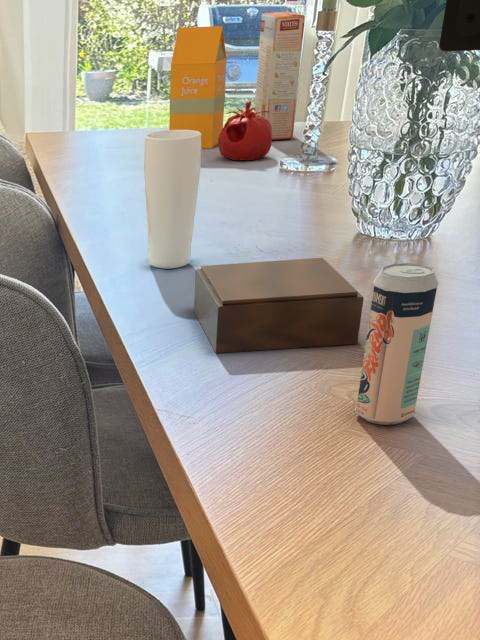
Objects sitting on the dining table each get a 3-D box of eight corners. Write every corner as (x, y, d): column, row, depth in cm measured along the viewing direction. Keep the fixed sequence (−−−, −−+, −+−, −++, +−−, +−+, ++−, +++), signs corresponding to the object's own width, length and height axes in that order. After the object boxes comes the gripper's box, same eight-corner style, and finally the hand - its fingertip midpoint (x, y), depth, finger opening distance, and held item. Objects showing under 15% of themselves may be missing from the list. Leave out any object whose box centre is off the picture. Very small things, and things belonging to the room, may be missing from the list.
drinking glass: (140, 258, 129) (142, 131, 121) (192, 255, 129) (198, 127, 120) (144, 272, 124) (147, 140, 115) (199, 269, 123) (205, 136, 115)
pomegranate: (255, 150, 187) (259, 95, 182) (281, 158, 179) (286, 100, 174) (207, 156, 185) (209, 100, 180) (230, 165, 177) (234, 106, 172)
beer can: (355, 403, 86) (376, 260, 79) (414, 407, 84) (440, 262, 78) (352, 425, 82) (373, 277, 75) (413, 429, 81) (441, 279, 74)
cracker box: (294, 139, 194) (306, 13, 182) (263, 141, 194) (273, 16, 182) (281, 128, 205) (291, 9, 193) (251, 130, 206) (260, 12, 194)
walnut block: (320, 302, 109) (326, 255, 107) (357, 344, 98) (364, 292, 95) (193, 311, 110) (195, 264, 107) (215, 353, 99) (218, 302, 96)
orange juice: (180, 140, 202) (183, 26, 190) (222, 141, 198) (229, 24, 187) (168, 147, 196) (171, 29, 184) (211, 148, 192) (217, 27, 181)
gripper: (616, -349, 49) (531, 54, 58) (596, -295, 61) (530, 28, 71) (451, -322, 51) (397, 58, 61) (465, -276, 64) (419, 33, 74)
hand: (468, 42), depth 66 cm, fingers open, 9 cm apart
